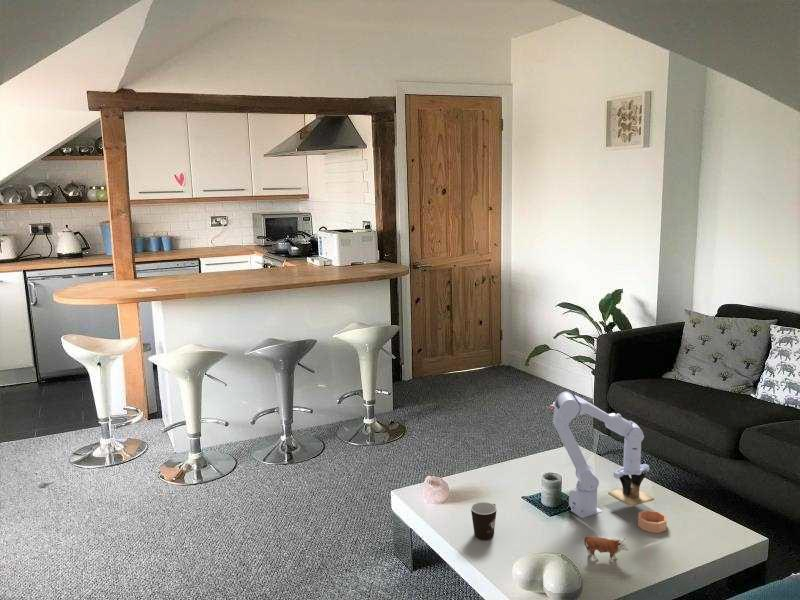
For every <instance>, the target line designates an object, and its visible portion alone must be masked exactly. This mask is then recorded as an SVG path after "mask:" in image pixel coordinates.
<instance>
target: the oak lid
mask: <svg viewBox="0 0 800 600" xmlns="http://www.w3.org/2000/svg"><path fill="white" fill-rule="evenodd" d="M640 486H641V485H640ZM640 486H638V485H636V484H634V483H631V487H630V494H629V495H626V494H625V493H624V490H623V487H622V488H619V489H615V490H611V491H608V492H607V494H608V495H609V496H611V497H612V498H614V499H616V500H617V501H621V502H622V503H624V504H626V505H627V506H629V507H631V506H635V505H638V504H644V503H645V504H646V503H649V502H652V501H654V500H655V498H654V497H653V496H651V495H649V494H648V493H646V492H644V491H642V490H640V488H641V487H640Z"/></svg>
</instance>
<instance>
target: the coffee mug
mask: <svg viewBox="0 0 800 600" xmlns="http://www.w3.org/2000/svg"><path fill="white" fill-rule="evenodd" d="M497 510H498V508H497V505H496V504H495V503H492V502H488V501H478V502H476V503H473V504H472V505H471V506H470V512H471V519H472V520H471V521H472V525H473V526H472V527H473V534H474V537H475V538H476V539H477V540H479V541H489V540H492V539H493V538H494V534H495V528H496V527H495V526H496V516H497Z"/></svg>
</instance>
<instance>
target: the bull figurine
mask: <svg viewBox="0 0 800 600" xmlns="http://www.w3.org/2000/svg"><path fill="white" fill-rule="evenodd" d="M583 543H584V546H585V547H586V552H587V554H588V556H590V557H592V559H593V560H595V562H598V561H599V559H598V558H597V557H596V556H597V555H595V552H596V551H598V552H599V553H600V554H603V553H609V559H608V562H609V563H610V564H611V563H612V564H613V563H614V561H613V560H612V559H614V560H615V561H616V560H618V557H617V556H616V554H618V553H620V552H621V551H629V550H630V547H629V546H628V543H627V541H626V537H624V538H619V537H600V536H599V537H598V536H592V535H591V536H589V535H588V536H585V538H584V542H583Z"/></svg>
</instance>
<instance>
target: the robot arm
mask: <svg viewBox="0 0 800 600" xmlns="http://www.w3.org/2000/svg"><path fill="white" fill-rule="evenodd" d="M584 414H585V415H586V414H587V415H589V416H590V417H593V418H595V419H597V420H599V421H600V422H603V423H604V426H605V428H607V429H609V430H610V431H612V432H614V433H616V434H617V435H620V437H624V440H623V441H624V442H623V464H622V467H620V468H619V469H617V470H615V471H613V477H614V478H615V479H617V480H618V479H619V481H620V483H621V485H622V488H623V490H624V493H625V494H626V495H629V494H630V487H631V483H634V484H636V485H638V486H641V484H642V482H643V480H644V479H645V478H646V473H644V472H649V471H650V465H649V464H646V463H643V464H642V463H641V461H642V459H641V456H642V442H643V440H644V438H645V435H644V432H643V429H641V428H640V426H639V425H638V424H637V423H636V422H634V421H633V420H627V419H626V418H624V417H622V415H621V414H620V413H614V412H611V413H607V412H605V411H604V410H602V409H600V408H599V407H597V406H596V405H594V404H593V403H591V402H589V401H587V400H585V399H584V398H582V397H580V396H578V395H576V394H574V395H573V394H572V393H571V392H568V391H563V392H560V393H559V394H558V396H557V398H556V399H555V401H554V410H553V415H552V416H553V418H552V423H553V426H554V427H555V430H556V432H557V434H558V436H559V438H560V440H561V442H562V444H563V446H564V448H565V451H566V452H567V454H568V456H569V458H570V460H571V462H572V464H573V467H574V468H575V469H574V470H575V476H576V478H577V482H576V483H575V484H576V485H575V488H573V489H571V490H570V491H569V494H568V507H569V506H570V507H571V510H570V511H571V513H573V514H575V515H577V516H578V517H579V518H586V517H588V516H593V515H596V514H599V513H602V512H603V510H602V509H600V508H599V507H598V487H599V485H600V484H599V483H600V481H599V479H598V476H597V475H595V472H594V470H593V468H592V467H591V466H590V465H589V464H588V463H587V461H586V459H585V457H584V454H583V453H582V450H581V449H580V446H579V444H578V443H577V440H576V438H575V436H574V434H573V432H572V430H571V428H570V424H571V423H570V422H571V421H572V420H573V419H574V418H575V417H577V415H578V416H583V415H584Z"/></svg>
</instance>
